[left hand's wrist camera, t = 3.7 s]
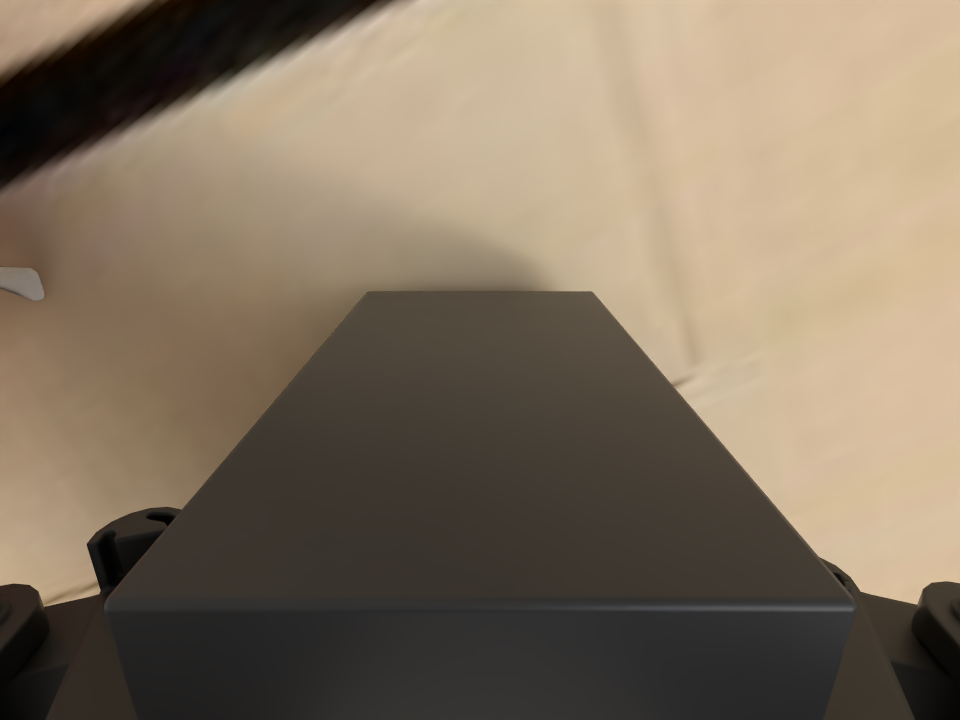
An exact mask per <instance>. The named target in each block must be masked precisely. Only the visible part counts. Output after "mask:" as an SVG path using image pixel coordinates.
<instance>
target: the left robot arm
mask: <svg viewBox="0 0 960 720" xmlns="http://www.w3.org/2000/svg"><path fill="white" fill-rule="evenodd" d="M181 511H182V510H181V509H176V508H170V507H161V508H149V509H145V510H141V511H138V512H134V513H130V514H128V515H126V516H124V517H121V518H119V519H117V520H115V521H112V522H111V523H109V524H108V525H106V526H105V527H103V528H102V529H101V530H99V531H98V532H96V533H95V535H94V536H93V537H92V538H91V539H90V541H89V542H88V543H87V547H88V550H89V554H90V557H91V560H92V563H93V567H94V570H95V573H96V576H97V580H98V583H99V586H100V589H101V591H100V594H98V595H95V596H91V597H87V598H83V599H78V600H74V601H69V602H65V603H60V604H56V605H51V606H47V607H44V606H43V603H42V600H41V598H40V595H39V592H38V591H37V590H36V589H34V588H33V587H31V586H30V585H23V584H9V585H3V586H0V720H138V719H137V716H136V713H135V710H134V706H133V703H132V700H131V697H130V694H129V690H128V687H127V684H126V681H125V677H124V674H123V671H122V668H121V665H120V661H119V658H118V655H117V652H116V649H115V645H114V642H113V639H112V636H111V632H110V629H109V626H108V623H107V620H106V616H105V613H104V604H105V602H106V599H107V597H108V596H109V595H110V594H111V593H112V592H113V590H114V589H115V588H116V587H117V586H118V585H119V583H120V582H121V581H122V580H123V579H124V578H125V576H126V575H127V574H128V573H129V572H130V570H131V569H132V568H133V567H134V566H135V565H136V563H137V562H138V561H139V560H140V559H141V558H142V556H143V555H144V554H145V553H146V552H147V550H148V549H149V548H150V547H151V546H152V545H153V543H154V542H155V541H156V540H157V539H158V538H159V536H160V535H161V534H162V533H163V532H164V530H165V529H166V528H167V527H168V526H169V525H170V523H171V522H172V521H173V520H174V519H175V518H176V516H177V515H178V514H179V513H180V512H181ZM819 558H820V557H819ZM820 559H821V560H822V561H823V563H824V564H825V565H826V566H827V567H828V568H829V570H830V571H831V572H832V573H833V574H834V575H835V577H836V578H837V579H838V580H839V581H840V583H841V584H842V585H843V586H844V587H845V588H846V590H847V591H848V592H849V593H850V594H851V595H852V597H853V598H854V600H855V602H856V606H857V612H856V616H855V619H854V622H853V625H852V629H851V632H850V635H849V638H848V641H847V645H846V648H845V651H844V654H843V657H842V661H841V664H840V667H839V670H838V673H837V677H836V680H835V683H834V686H833V689H832V693H831V696H830V699H829V702H828V706H827V709H826V712H825V715H824V718H823V720H960V583H954V582H948V581H947V582H936V583H931V584H930V585H928V586H927V587H925V588H924V589H923V591H922V593H921V596H920V599H919V602H918V605H915V604H911V603H906V602H902V601H897V600H893V599H888V598H884V597H879V596H875V595H870V594H867V593H863V592H860V590H859V589H858V587H857V586H856V584H855V583H854V582H853V580H852V579H851V577H850V576H848V575H847V574H846V573H844V572H843V571H842V570H841V569H839V568H838V567H837V566H836V565H834V564H832V563H830V562H828V561H826V560H824V559H822V558H820Z"/></svg>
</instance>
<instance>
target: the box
mask: <svg viewBox="0 0 960 720" xmlns="http://www.w3.org/2000/svg"><path fill="white" fill-rule="evenodd" d="M856 612H857V606H856V602H855V600H854V598H853V597H852V595H851V594H850V593H849V592H848V591H847V590H846V588H845V587H844V586H843V585H842V584H841V583H840V581H839V580H838V579H837V578H836V577H835V575H834V574H833V573H832V572H831V571H830V570H829V568H828V567H827V566H826V565H825V564H824V563H823V561H822V560H821V559H820V558H819V557H818V556H817V554H816V553H815V552H814V551H813V550H812V549H811V547H810V546H809V545H808V544H807V543H806V541H805V540H804V539H803V538H802V537H801V536H800V534H799V533H798V532H797V531H796V530H795V529H794V527H793V526H792V525H791V524H790V523H789V522H788V520H787V519H786V518H785V517H784V516H783V515H782V513H781V512H780V511H779V510H778V509H777V507H776V506H775V505H774V504H773V503H772V502H771V500H770V499H769V498H768V497H767V496H766V495H765V493H764V492H763V491H762V490H761V489H760V488H759V486H758V485H757V484H756V483H755V482H754V481H753V479H752V478H751V477H750V476H749V475H748V473H747V472H746V471H745V470H744V469H743V468H742V466H741V465H740V464H739V463H738V462H737V461H736V459H735V458H734V457H733V456H732V455H731V454H730V452H729V451H728V450H727V449H726V448H725V446H724V445H723V444H722V443H721V442H720V441H719V439H718V438H717V437H716V436H715V435H714V434H713V432H712V431H711V430H710V429H709V428H708V427H707V425H706V424H705V423H704V422H703V421H702V420H701V418H700V417H699V416H698V415H697V414H696V412H695V411H694V410H693V409H692V408H691V407H690V405H689V404H688V403H687V402H686V401H685V400H684V398H683V397H682V396H681V395H680V394H679V393H678V391H677V390H676V389H675V388H674V387H673V386H672V384H671V383H670V382H669V381H668V380H667V378H666V377H665V376H664V375H663V374H662V373H661V371H660V370H659V369H658V368H657V367H656V366H655V364H654V363H653V362H652V361H651V360H650V359H649V357H648V356H647V355H646V354H645V353H644V352H643V350H642V349H641V348H640V347H639V346H638V344H637V343H636V342H635V341H634V340H633V339H632V337H631V336H630V335H629V334H628V333H627V332H626V330H625V329H624V328H623V327H622V326H621V325H620V323H619V322H618V321H617V320H616V319H615V318H614V316H613V315H612V314H611V313H610V312H609V310H608V309H607V308H606V307H605V306H604V305H603V303H602V302H601V301H600V300H599V299H598V298H597V296H596V295H595V294H594V293H593V292H367V293H366V294H365V295H364V297H363V298H362V299H361V300H360V301H359V303H358V304H357V305H356V306H355V307H354V308H353V310H352V311H351V312H350V313H349V314H348V315H347V317H346V318H345V319H344V320H343V321H342V323H341V324H340V325H339V326H338V327H337V328H336V330H335V331H334V332H333V333H332V334H331V335H330V337H329V338H328V339H327V340H326V341H325V342H324V344H323V345H322V346H321V347H320V348H319V350H318V351H317V352H316V353H315V354H314V355H313V357H312V358H311V359H310V360H309V361H308V362H307V364H306V365H305V366H304V367H303V368H302V370H301V371H300V372H299V373H298V374H297V375H296V377H295V378H294V379H293V380H292V381H291V382H290V384H289V385H288V386H287V387H286V388H285V389H284V391H283V392H282V393H281V394H280V395H279V397H278V398H277V399H276V400H275V401H274V402H273V404H272V405H271V406H270V407H269V408H268V409H267V411H266V412H265V413H264V414H263V415H262V417H261V418H260V419H259V420H258V421H257V422H256V424H255V425H254V426H253V427H252V428H251V429H250V431H249V432H248V433H247V434H246V435H245V436H244V438H243V439H242V440H241V441H240V442H239V444H238V445H237V446H236V447H235V448H234V449H233V451H232V452H231V453H230V454H229V455H228V456H227V458H226V459H225V460H224V461H223V462H222V464H221V465H220V466H219V467H218V468H217V469H216V471H215V472H214V473H213V474H212V475H211V476H210V478H209V479H208V480H207V481H206V482H205V483H204V485H203V486H202V487H201V488H200V489H199V491H198V492H197V493H196V494H195V495H194V496H193V498H192V499H191V500H190V501H189V502H188V503H187V505H186V506H185V507H184V508H183V509H182V511H181V512H180V513H179V514H178V515H177V516H176V518H175V519H174V520H173V521H172V522H171V523H170V525H169V526H168V527H167V528H166V529H165V530H164V532H163V533H162V534H161V535H160V536H159V538H158V539H157V540H156V541H155V542H154V543H153V545H152V546H151V547H150V548H149V549H148V550H147V552H146V553H145V554H144V555H143V556H142V558H141V559H140V560H139V561H138V562H137V563H136V565H135V566H134V567H133V568H132V569H131V570H130V572H129V573H128V574H127V575H126V576H125V578H124V579H123V580H122V581H121V582H120V583H119V585H118V586H117V587H116V588H115V589H114V590H113V592H112V593H111V594H110V595H109V596H108V597H107V599H106V602H105V604H104V613H105V616H106V620H107V623H108V626H109V629H110V632H111V636H112V639H113V642H114V645H115V649H116V652H117V655H118V658H119V661H120V665H121V668H122V671H123V674H124V677H125V681H126V684H127V687H128V690H129V694H130V697H131V700H132V703H133V706H134V710H135V713H136V716H137V719H138V720H823V718H824V715H825V712H826V709H827V706H828V702H829V699H830V696H831V693H832V689H833V686H834V683H835V680H836V677H837V673H838V670H839V667H840V664H841V661H842V657H843V654H844V651H845V648H846V645H847V641H848V638H849V635H850V632H851V629H852V625H853V622H854V619H855V616H856Z"/></svg>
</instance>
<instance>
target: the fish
mask: <svg viewBox="0 0 960 720" xmlns="http://www.w3.org/2000/svg"><path fill="white" fill-rule="evenodd" d="M0 154H2V153H0ZM0 289H3V290H6V291H9V292H12V293H15V294H17V295H19V296H22V297H24V298H26V299H28V300H30V301H39V300H42V299H43V298H44V297H45V295H44V290H43V287H42V284H41V281H40V278H39V275H38V273H37V272H36V271H35V270H33V269H31V268H25V267H1V266H0Z"/></svg>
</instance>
